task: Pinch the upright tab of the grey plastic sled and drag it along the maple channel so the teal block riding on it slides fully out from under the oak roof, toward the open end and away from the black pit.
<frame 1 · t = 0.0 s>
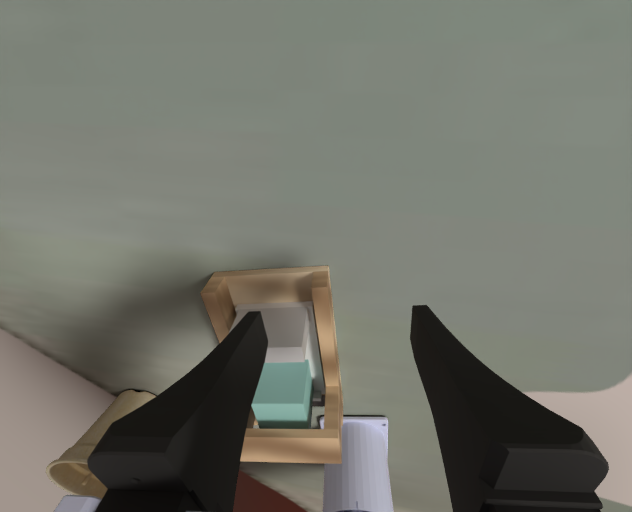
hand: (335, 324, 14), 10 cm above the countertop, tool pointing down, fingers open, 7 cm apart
block: (289, 375, 29), point 2 cm above the countertop, touching sled
sled: (281, 372, 26), point 3 cm above the countertop, slide at 0.0 cm, touching block
flower pot: (145, 402, 37), on the countertop
wooden frame: (287, 344, 29), on the countertop
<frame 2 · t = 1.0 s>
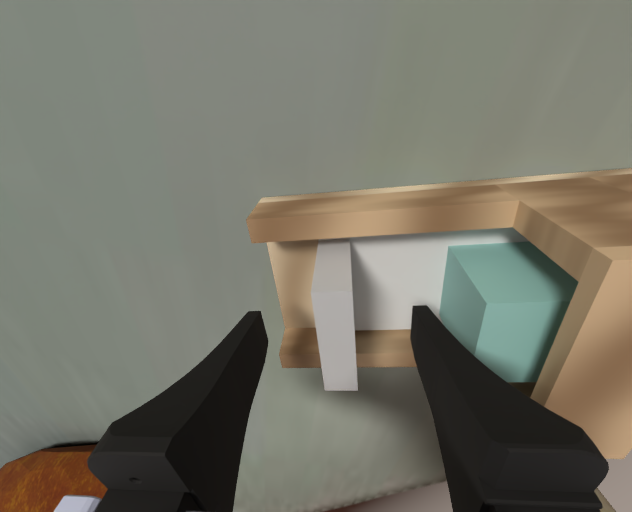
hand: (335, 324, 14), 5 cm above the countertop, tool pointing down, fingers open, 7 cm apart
bread: (104, 480, 37), on the countertop
block: (487, 280, 15), point 2 cm above the countertop, touching sled
sled: (441, 304, 14), point 3 cm above the countertop, slide at 0.0 cm, touching block
wooden frame: (426, 267, 17), on the countertop
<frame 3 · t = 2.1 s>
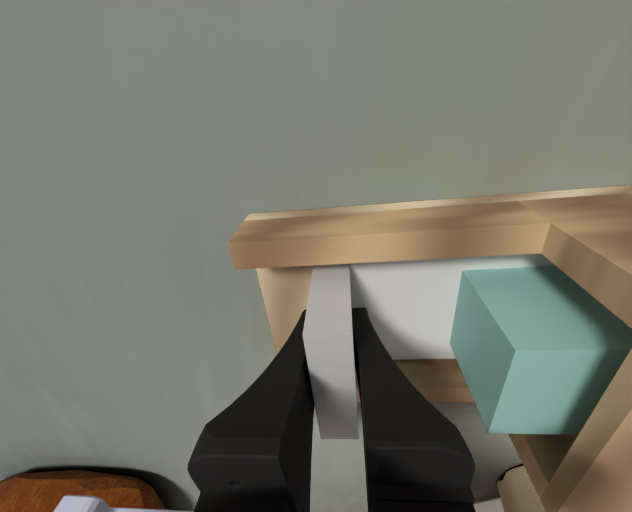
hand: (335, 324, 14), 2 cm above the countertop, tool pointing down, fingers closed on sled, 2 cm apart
bread: (87, 503, 35), on the countertop
block: (505, 308, 14), point 2 cm above the countertop, touching sled
sled: (455, 339, 12), point 3 cm above the countertop, slide at 0.0 cm, touching block, gripper
flower pot: (535, 476, 24), on the countertop
wooden frame: (435, 290, 15), on the countertop
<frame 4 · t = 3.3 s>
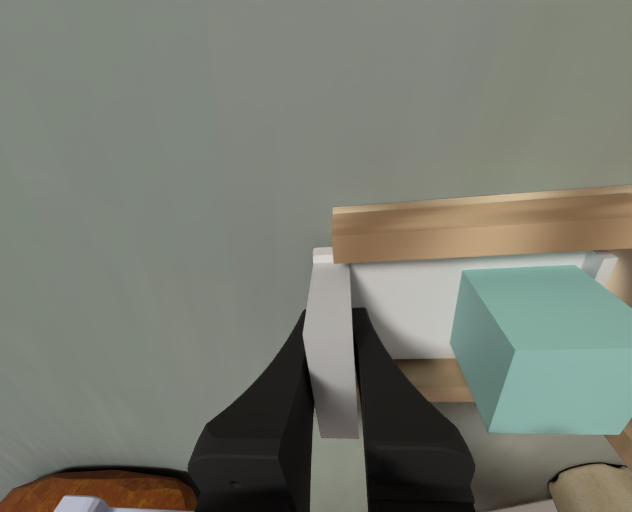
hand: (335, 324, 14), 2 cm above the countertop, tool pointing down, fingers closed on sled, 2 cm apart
bread: (117, 503, 34), on the countertop
block: (505, 307, 14), point 2 cm above the countertop, touching sled
sled: (455, 338, 12), point 3 cm above the countertop, slide at 4.0 cm, touching block, gripper
flower pot: (588, 477, 24), on the countertop
wooden frame: (517, 286, 15), on the countertop
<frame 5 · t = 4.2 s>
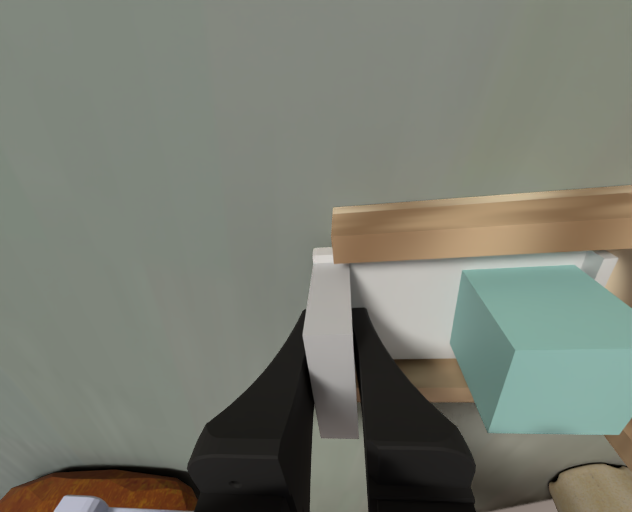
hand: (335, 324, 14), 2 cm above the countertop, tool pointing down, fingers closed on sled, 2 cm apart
bread: (116, 502, 34), on the countertop
block: (505, 307, 14), point 2 cm above the countertop, touching sled
sled: (455, 338, 12), point 3 cm above the countertop, slide at 4.0 cm, touching block, gripper
flower pot: (588, 477, 24), on the countertop
wooden frame: (517, 287, 15), on the countertop
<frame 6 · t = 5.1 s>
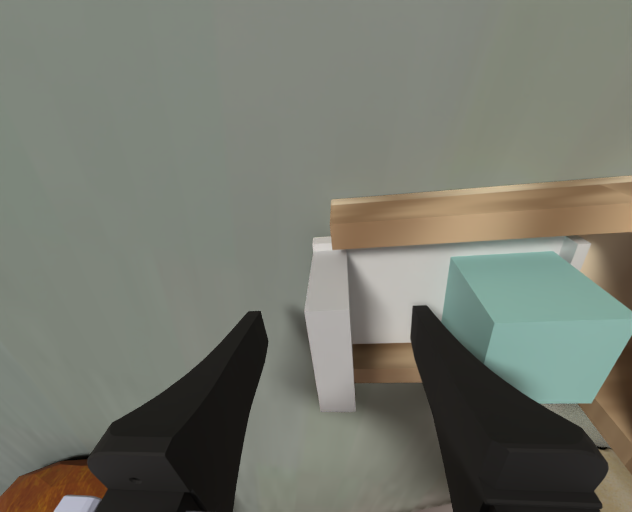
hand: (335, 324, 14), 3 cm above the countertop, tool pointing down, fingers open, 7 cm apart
bread: (120, 492, 35), on the countertop
block: (491, 292, 15), point 2 cm above the countertop, touching sled
sled: (444, 319, 13), point 3 cm above the countertop, slide at 4.0 cm, touching block
flower pot: (576, 460, 25), on the countertop
wooden frame: (503, 274, 16), on the countertop
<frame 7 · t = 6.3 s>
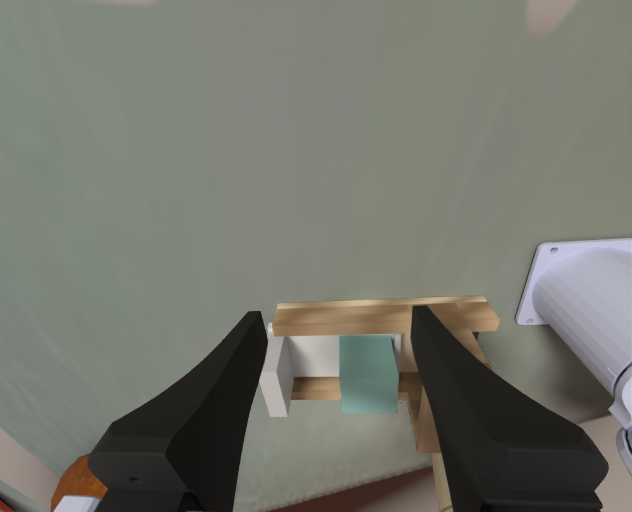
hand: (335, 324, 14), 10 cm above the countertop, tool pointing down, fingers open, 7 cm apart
bread: (145, 472, 48), on the countertop
block: (364, 352, 27), point 2 cm above the countertop, touching sled
sled: (334, 369, 26), point 3 cm above the countertop, slide at 4.0 cm, touching block
flower pot: (455, 448, 37), on the countertop
wooden frame: (376, 339, 28), on the countertop
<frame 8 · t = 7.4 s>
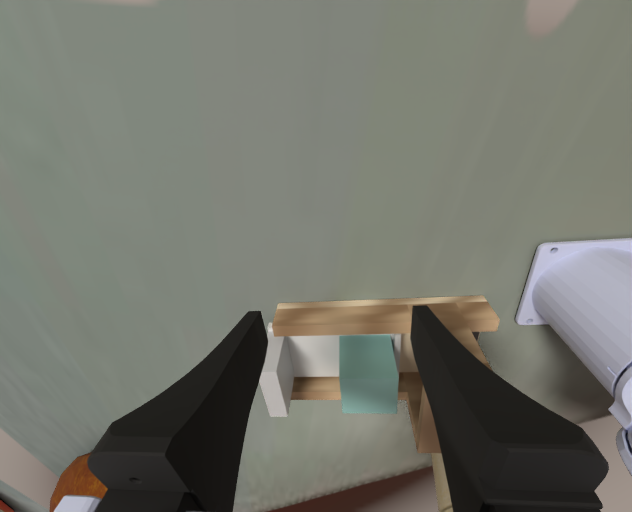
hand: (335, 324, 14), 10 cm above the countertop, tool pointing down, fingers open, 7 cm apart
bread: (145, 471, 48), on the countertop
block: (364, 352, 27), point 2 cm above the countertop, touching sled
sled: (334, 369, 26), point 3 cm above the countertop, slide at 4.0 cm, touching block
flower pot: (455, 448, 37), on the countertop
wooden frame: (376, 339, 28), on the countertop
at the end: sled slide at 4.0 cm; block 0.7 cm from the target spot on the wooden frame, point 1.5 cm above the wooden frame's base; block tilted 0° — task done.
